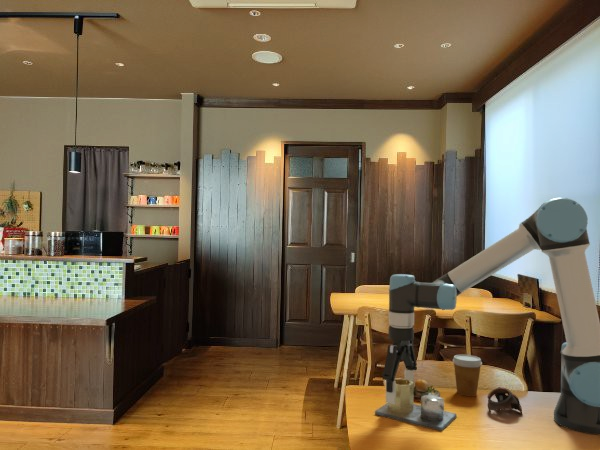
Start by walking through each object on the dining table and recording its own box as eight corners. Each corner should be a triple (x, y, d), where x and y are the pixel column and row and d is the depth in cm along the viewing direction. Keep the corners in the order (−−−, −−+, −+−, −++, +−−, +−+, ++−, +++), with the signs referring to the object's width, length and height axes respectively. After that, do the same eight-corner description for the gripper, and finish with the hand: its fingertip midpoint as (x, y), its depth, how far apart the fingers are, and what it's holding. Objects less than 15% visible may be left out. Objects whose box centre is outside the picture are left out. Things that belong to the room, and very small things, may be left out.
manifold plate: (456, 417, 143) (456, 396, 143) (441, 431, 132) (442, 409, 133) (393, 402, 154) (393, 383, 155) (375, 414, 144) (375, 393, 144)
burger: (445, 396, 163) (445, 373, 163) (433, 406, 153) (433, 382, 153) (410, 389, 169) (411, 367, 169) (397, 398, 160) (397, 375, 160)
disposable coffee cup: (484, 392, 167) (484, 357, 167) (478, 399, 159) (478, 362, 159) (456, 387, 172) (456, 352, 172) (448, 394, 164) (449, 358, 164)
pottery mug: (529, 420, 143) (519, 397, 142) (499, 431, 145) (489, 409, 143) (514, 396, 155) (505, 375, 154) (486, 407, 156) (476, 386, 155)
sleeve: (415, 408, 147) (416, 381, 147) (406, 414, 141) (407, 387, 142) (394, 403, 151) (394, 377, 151) (384, 409, 145) (385, 382, 146)
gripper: (405, 319, 159) (404, 384, 159) (371, 330, 139) (369, 405, 138) (427, 321, 155) (426, 388, 154) (395, 334, 134) (394, 411, 134)
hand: (399, 396), depth 146 cm, fingers open, 13 cm apart
